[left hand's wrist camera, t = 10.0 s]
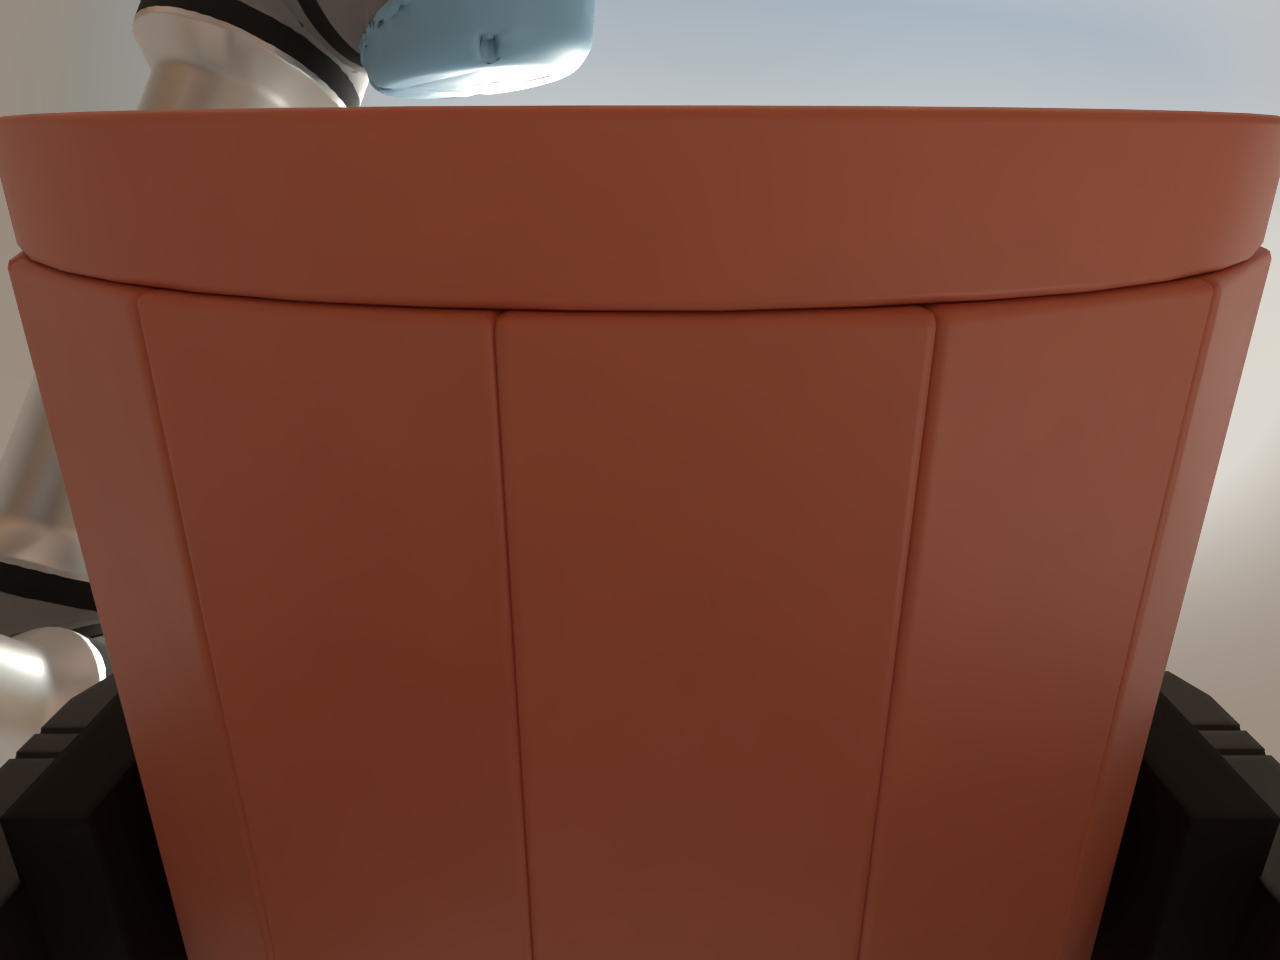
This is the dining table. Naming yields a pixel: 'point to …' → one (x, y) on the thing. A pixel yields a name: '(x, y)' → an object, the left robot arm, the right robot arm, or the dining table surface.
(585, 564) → the terracotta flower pot
